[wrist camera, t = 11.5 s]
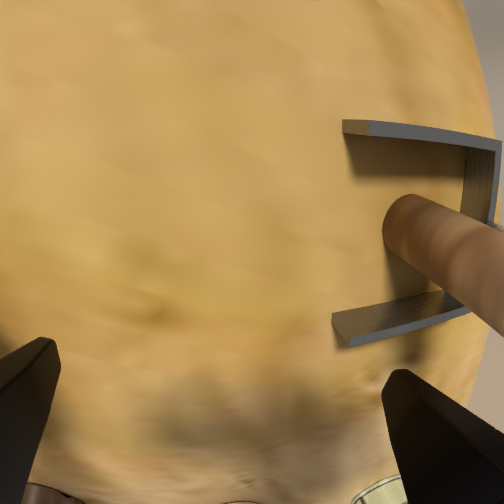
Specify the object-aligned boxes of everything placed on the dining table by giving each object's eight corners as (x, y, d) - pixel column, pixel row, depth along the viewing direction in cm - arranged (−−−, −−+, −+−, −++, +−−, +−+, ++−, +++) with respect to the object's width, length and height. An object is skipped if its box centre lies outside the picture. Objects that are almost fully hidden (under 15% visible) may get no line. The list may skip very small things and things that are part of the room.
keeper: (331, 322, 22) (370, 377, 17) (342, 119, 17) (405, 122, 12) (453, 294, 24) (497, 329, 19) (476, 136, 19) (537, 149, 14)
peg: (410, 263, 22) (552, 377, 9) (371, 239, 20) (537, 370, 8) (439, 212, 21) (596, 300, 8) (402, 182, 19) (591, 269, 6)
